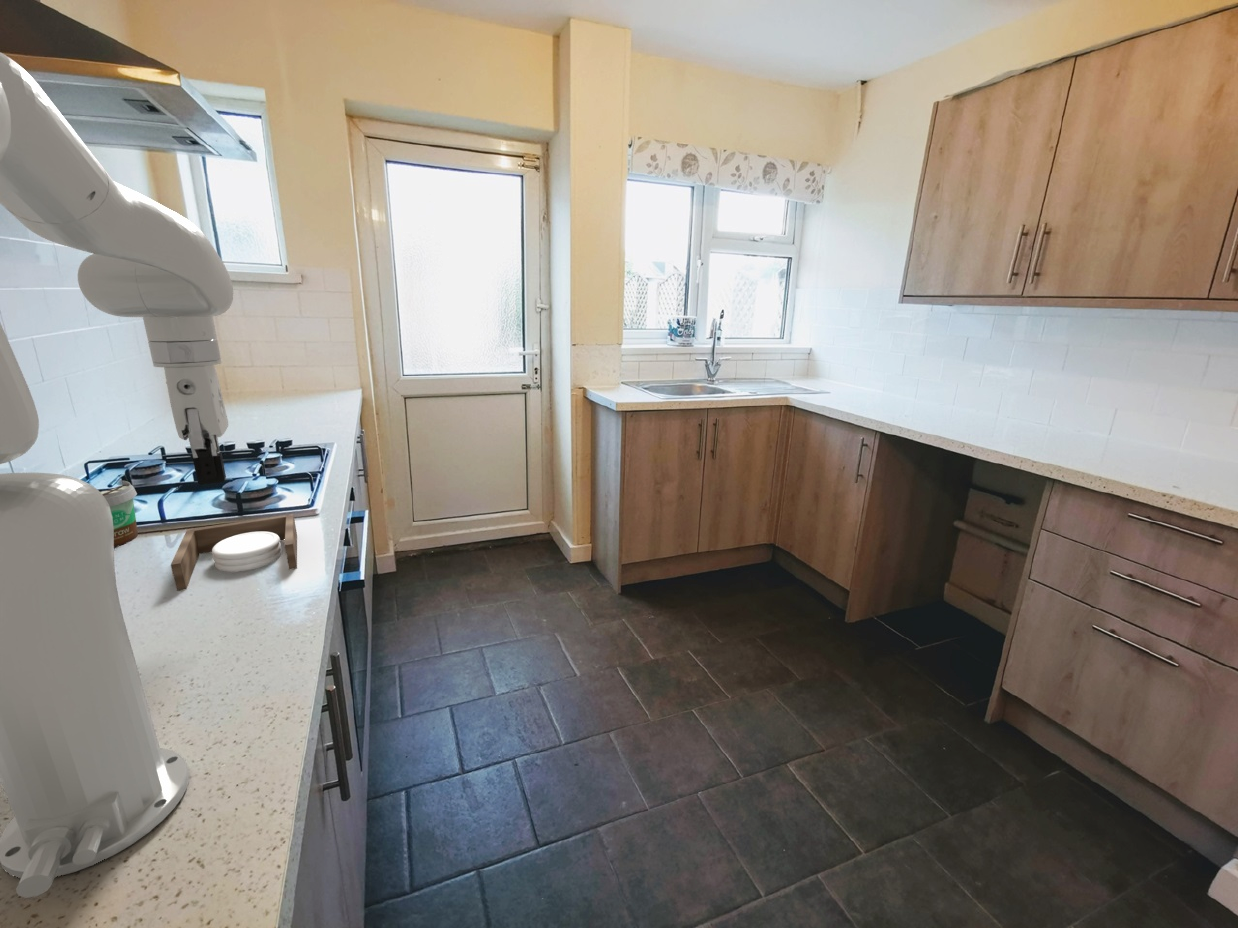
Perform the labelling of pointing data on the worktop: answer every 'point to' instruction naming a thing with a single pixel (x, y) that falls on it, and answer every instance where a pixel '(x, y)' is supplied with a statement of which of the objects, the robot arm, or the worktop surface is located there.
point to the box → (209, 536)
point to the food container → (122, 512)
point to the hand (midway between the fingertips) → (212, 481)
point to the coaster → (246, 551)
